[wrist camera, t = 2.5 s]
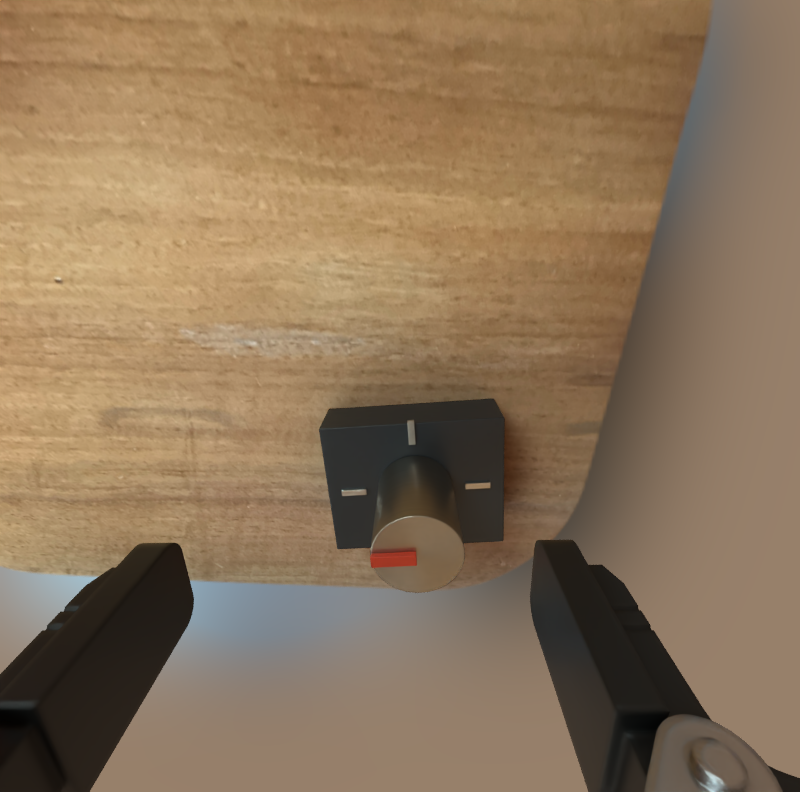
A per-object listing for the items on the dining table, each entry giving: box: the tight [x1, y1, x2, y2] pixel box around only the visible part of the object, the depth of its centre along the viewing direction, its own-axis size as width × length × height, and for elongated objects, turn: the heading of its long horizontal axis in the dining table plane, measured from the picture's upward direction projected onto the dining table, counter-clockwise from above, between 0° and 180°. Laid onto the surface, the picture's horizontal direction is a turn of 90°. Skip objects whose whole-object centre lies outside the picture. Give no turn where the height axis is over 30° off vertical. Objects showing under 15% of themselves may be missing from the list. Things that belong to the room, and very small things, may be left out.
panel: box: [319, 399, 505, 549], centre depth 25 cm, size 10×8×3 cm
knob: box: [370, 456, 465, 593], centre depth 21 cm, size 4×4×6 cm
